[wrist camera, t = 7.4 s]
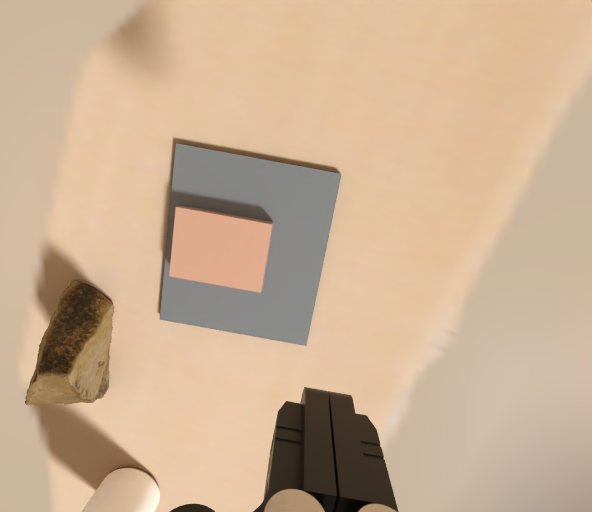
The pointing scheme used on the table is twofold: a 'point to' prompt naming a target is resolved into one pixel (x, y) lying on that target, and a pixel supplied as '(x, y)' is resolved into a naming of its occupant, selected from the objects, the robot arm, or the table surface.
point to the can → (125, 492)
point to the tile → (220, 248)
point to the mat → (283, 248)
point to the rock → (74, 350)
